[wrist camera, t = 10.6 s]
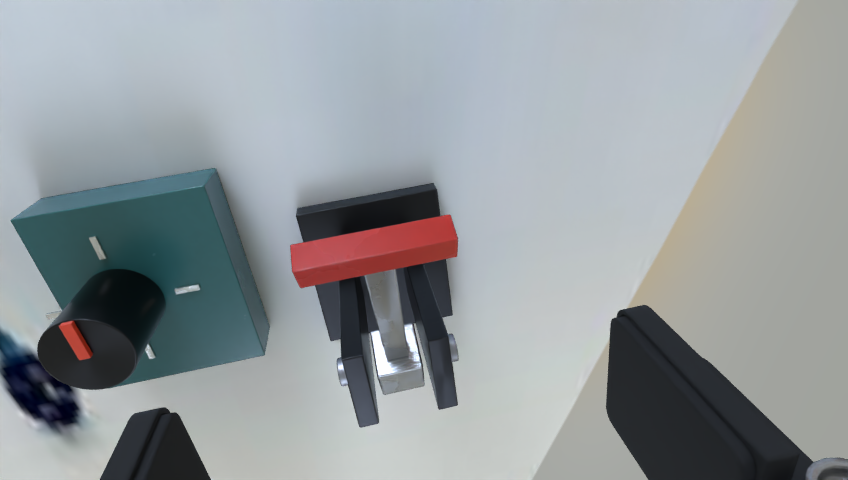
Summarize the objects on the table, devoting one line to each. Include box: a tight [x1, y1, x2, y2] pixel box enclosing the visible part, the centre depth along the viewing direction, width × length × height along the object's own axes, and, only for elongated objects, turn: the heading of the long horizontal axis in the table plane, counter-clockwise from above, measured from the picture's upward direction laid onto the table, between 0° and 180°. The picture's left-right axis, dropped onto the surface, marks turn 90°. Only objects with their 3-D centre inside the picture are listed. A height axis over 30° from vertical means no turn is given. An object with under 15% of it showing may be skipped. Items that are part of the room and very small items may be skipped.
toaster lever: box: [290, 215, 458, 395], centre depth 21 cm, size 12×6×2 cm
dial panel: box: [11, 168, 270, 388], centre depth 30 cm, size 11×12×3 cm
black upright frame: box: [296, 183, 459, 427], centre depth 29 cm, size 10×9×12 cm
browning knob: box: [37, 269, 165, 390], centre depth 26 cm, size 4×4×5 cm
